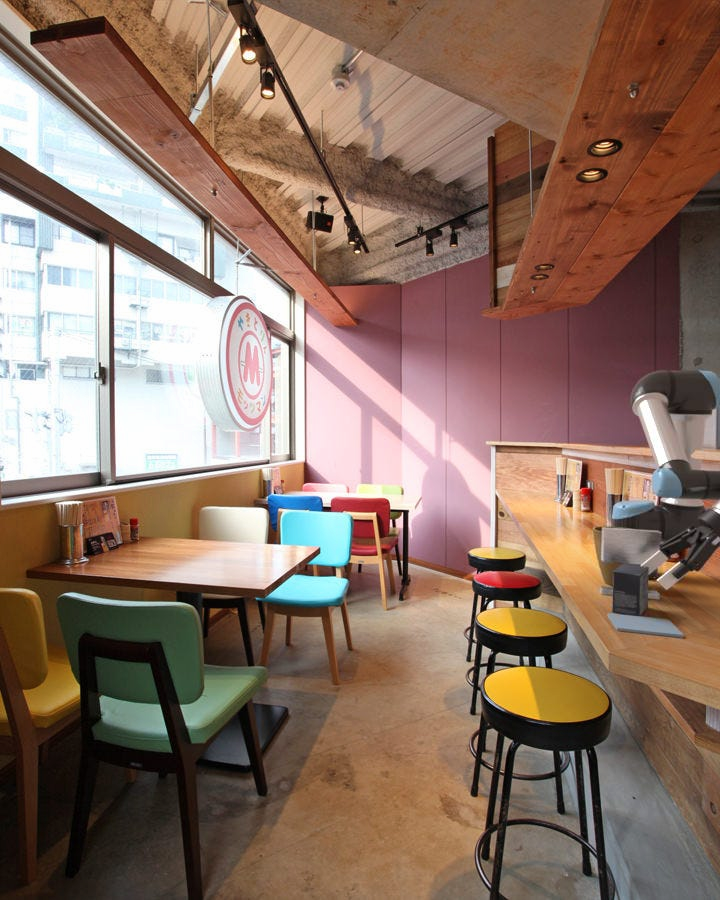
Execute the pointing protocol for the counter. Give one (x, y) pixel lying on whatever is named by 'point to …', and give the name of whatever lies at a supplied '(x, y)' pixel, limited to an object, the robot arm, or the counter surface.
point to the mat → (644, 625)
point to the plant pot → (605, 567)
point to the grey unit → (629, 549)
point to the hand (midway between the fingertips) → (651, 577)
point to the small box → (630, 590)
